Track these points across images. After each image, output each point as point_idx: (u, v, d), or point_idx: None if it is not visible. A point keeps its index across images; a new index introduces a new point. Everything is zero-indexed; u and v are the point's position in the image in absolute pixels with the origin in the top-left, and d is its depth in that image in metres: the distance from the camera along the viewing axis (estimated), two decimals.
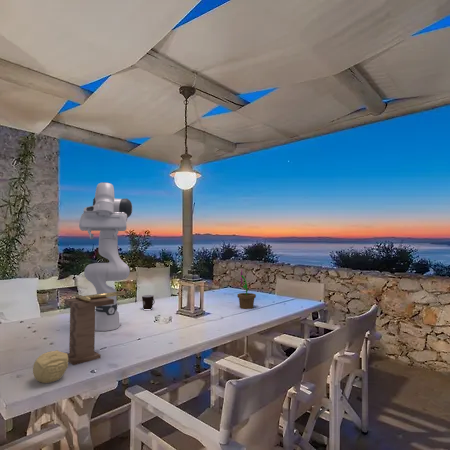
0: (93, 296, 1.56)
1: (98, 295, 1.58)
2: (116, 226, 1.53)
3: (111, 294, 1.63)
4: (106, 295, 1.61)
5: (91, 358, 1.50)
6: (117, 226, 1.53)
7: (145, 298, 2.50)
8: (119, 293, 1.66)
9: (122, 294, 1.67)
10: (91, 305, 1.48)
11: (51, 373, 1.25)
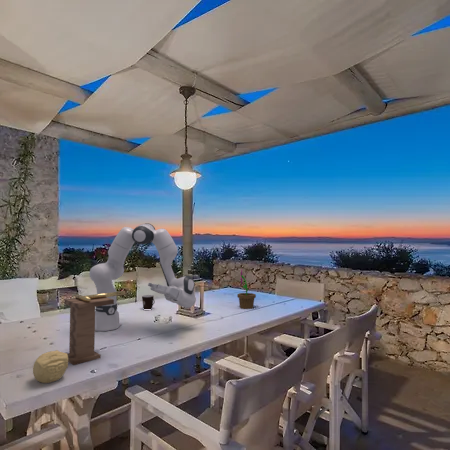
0: (93, 296, 1.56)
1: (98, 295, 1.58)
2: (154, 290, 1.93)
3: (111, 294, 1.63)
4: (106, 295, 1.61)
5: (91, 358, 1.50)
6: (153, 290, 1.93)
7: (145, 298, 2.50)
8: (119, 293, 1.66)
9: (122, 294, 1.67)
10: (91, 305, 1.48)
11: (50, 373, 1.25)
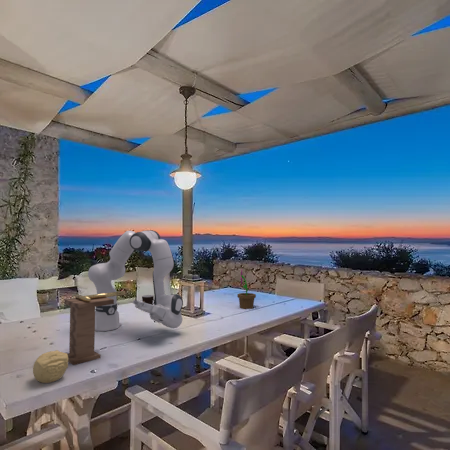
0: (93, 296, 1.56)
1: (98, 295, 1.58)
2: (138, 308, 1.81)
3: (111, 294, 1.63)
4: (106, 295, 1.61)
5: (91, 358, 1.50)
6: (138, 308, 1.81)
7: (145, 298, 2.50)
8: (119, 293, 1.66)
9: (122, 294, 1.67)
10: (91, 305, 1.48)
11: (50, 373, 1.25)
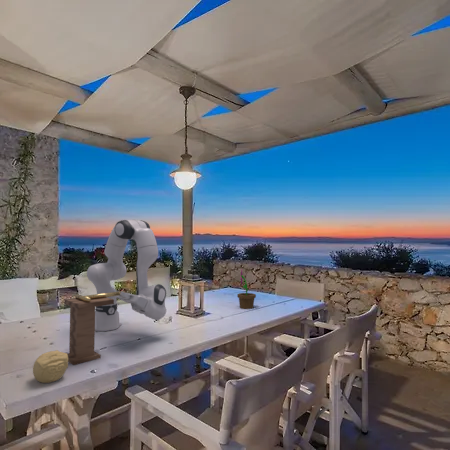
0: (93, 296, 1.56)
1: (98, 295, 1.58)
2: (119, 298, 1.73)
3: (111, 294, 1.63)
4: (106, 295, 1.61)
5: (91, 358, 1.50)
6: (119, 298, 1.73)
7: None
8: (119, 293, 1.66)
9: None
10: (91, 305, 1.48)
11: (50, 373, 1.25)
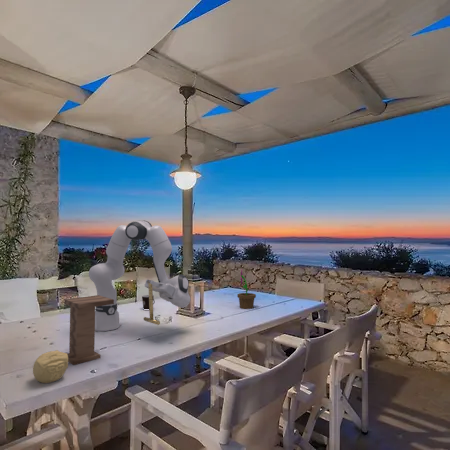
0: (151, 312, 1.79)
1: (151, 308, 1.79)
2: (148, 287, 1.85)
3: (151, 296, 1.79)
4: (151, 300, 1.79)
5: (91, 358, 1.50)
6: (148, 287, 1.85)
7: (145, 298, 2.50)
8: (151, 288, 1.79)
9: None
10: (91, 305, 1.48)
11: (50, 373, 1.25)
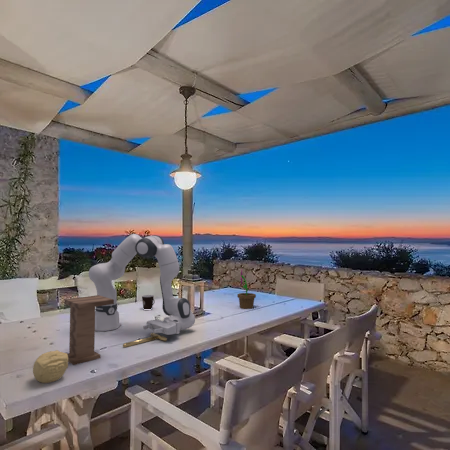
0: (152, 339, 1.79)
1: (148, 340, 1.77)
2: (150, 328, 1.86)
3: (137, 343, 1.72)
4: (141, 341, 1.74)
5: (91, 358, 1.50)
6: None
7: (145, 298, 2.50)
8: (130, 344, 1.69)
9: (126, 344, 1.68)
10: (91, 305, 1.48)
11: (50, 373, 1.25)
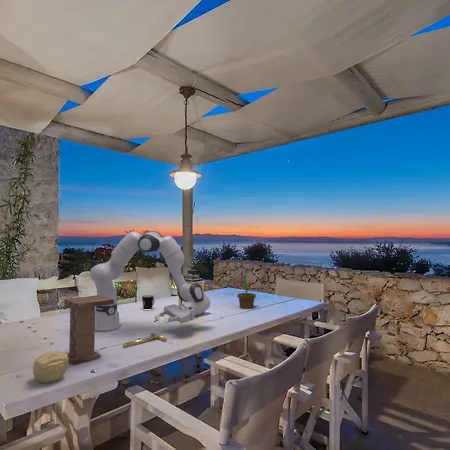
0: (152, 339, 1.79)
1: (148, 340, 1.77)
2: None
3: (137, 343, 1.72)
4: (141, 341, 1.74)
5: (91, 358, 1.50)
6: None
7: (145, 298, 2.50)
8: (130, 344, 1.69)
9: (126, 344, 1.68)
10: (91, 305, 1.48)
11: (50, 373, 1.25)
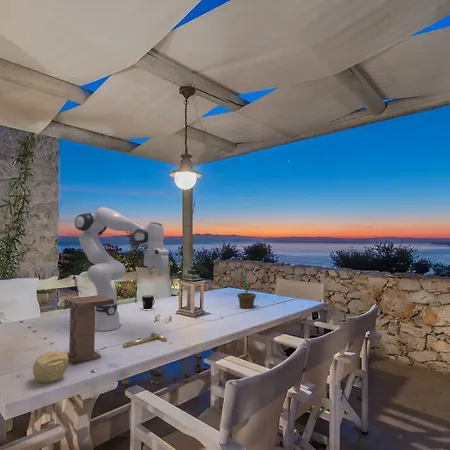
0: (152, 339, 1.79)
1: (148, 340, 1.77)
2: None
3: (137, 343, 1.72)
4: (141, 341, 1.74)
5: (91, 358, 1.50)
6: None
7: (145, 298, 2.50)
8: (130, 344, 1.69)
9: (126, 344, 1.68)
10: (91, 305, 1.48)
11: (50, 373, 1.25)
